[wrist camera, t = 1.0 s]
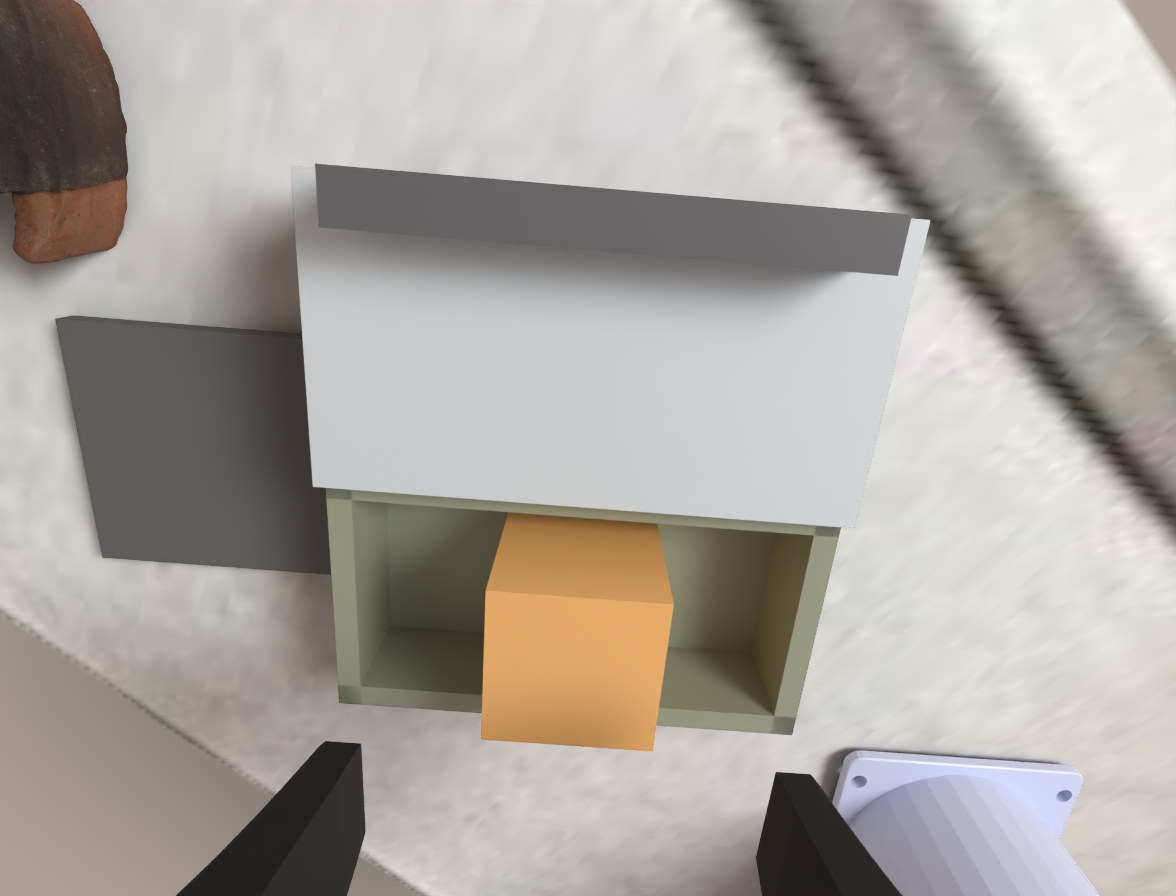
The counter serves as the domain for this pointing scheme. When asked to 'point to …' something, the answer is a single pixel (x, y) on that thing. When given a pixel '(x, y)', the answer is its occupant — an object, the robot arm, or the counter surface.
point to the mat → (196, 443)
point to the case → (461, 573)
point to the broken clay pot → (59, 131)
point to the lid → (596, 343)
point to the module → (575, 633)
